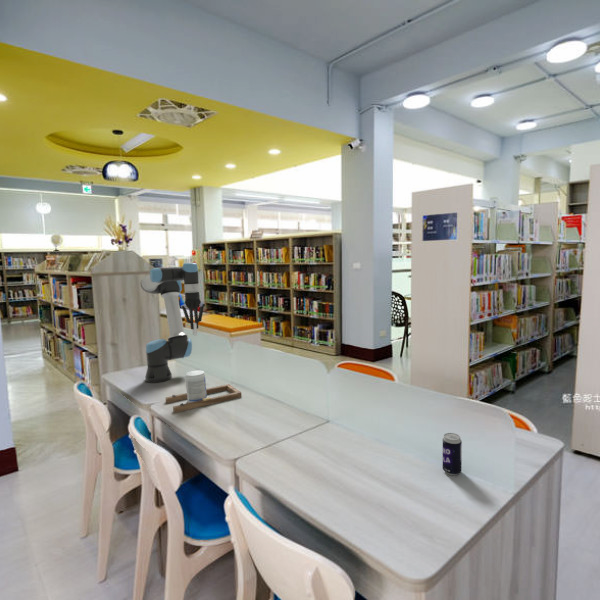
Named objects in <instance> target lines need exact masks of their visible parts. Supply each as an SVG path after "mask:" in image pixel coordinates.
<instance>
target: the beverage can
mask: <svg viewBox="0 0 600 600" xmlns="http://www.w3.org/2000/svg"><path fill="white" fill-rule="evenodd" d="M462 443H463V442H462V439H461V436H460V435H459V434H457V433H455V432H447V433H444V434H443V437H442V470H443V471H444V472H445V473H446V474H447V475H450V476H458V475H459V474H460V473H461V472H462V461H463V460H462V455H463V454H462V453H463V451H462V447H463V444H462Z"/></svg>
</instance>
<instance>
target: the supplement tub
mask: <svg viewBox="0 0 600 600" xmlns="http://www.w3.org/2000/svg"><path fill="white" fill-rule="evenodd" d="M185 386H186V387H185V388H186V393H187V399H186V400H187V403H191V402H195V401H200V400H202V399H203V398H207V397H208V396H207V395H208V394H207V393H206V389H207V383H206V373H205V371H204V370H198V369H196V370H192V371H188V372H186V373H185Z"/></svg>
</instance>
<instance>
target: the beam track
mask: <svg viewBox="0 0 600 600" xmlns="http://www.w3.org/2000/svg"><path fill="white" fill-rule="evenodd" d="M224 391H228V392H230V393H227V394H222V395H218V396H212V397H210V396H209V397H208V396H207V398H203V399H202V400H200V401H195V402H191V403H189V402H186V403H180V404H179V405H173V406H172V409H173V410H172V411H173V413H180V412H183V411H188V410H193V409H195V408H201V407H205V406H209V405H213V404H217V403H222V402H225V401H231V400H234V399H239V398H241V397H242V396H243V395H242V392H241V391H240V390H238V389H237V388H236V387H234V386H233V385H231V384H230V383H227V384H222V385H219V386H218V385H217V386H212V387H208V388H206V393H207V395H210V394H211V395H212V394H214V393H218V392H224ZM184 400H187V392H185V393H181V394H177V395H176V394H172V395H171V396H167V397H165V403H166V404H170V403H173V402H179V401H184Z"/></svg>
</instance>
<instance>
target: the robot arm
mask: <svg viewBox="0 0 600 600" xmlns="http://www.w3.org/2000/svg"><path fill="white" fill-rule="evenodd" d="M182 281H183V282H184V284H182ZM182 285H184V292H185V293H184V299H185V301H184V304H182V305H180V300H179V296H180V295H181V292H182V290H183V286H182ZM140 287H141V289H142V290H143V291H144V292H146V293H148V294H153V295H157V294H160V297H161V298H162V299H163V300H164V306H165V307H164V308H165V313H166V318H167V324H168V325H167V326H168V330H169V336H168V338H167V340H166V339H165V338H162V339H155V340H151V341H150V342H148V343H147V344H146V345H145V353H146V363H147V364H146V365H147V368H146V374H145V380H144V381H145V382H147V383H160V382H161V383H162V382H166V381H169V380H171V379H172V378H173V374H172V371H171V369H170V367H169V361H171V360H177V359H184V358H188V357H190V356H191V354H192V350H193V341H192V338H190V337H188V334H186V333H185V331H184V324H183V318H182V313H183V314H184V318H185V320H186V323H188V324H190V329H191V330H192V335H193V336H198V329H199V323H200V322H202V320H203V313H204V308H205V306H206V303H203V302H201V299H200V298H201V297H200V296H201V295H200V286H199V268H198V264H197V262H185V263H183V264H182V266H174V267H173V266H172V267H155V268H151V269H150V270H149V275H148V274H147V275H145V276H144V277H143V278H142V279H141V280H140ZM187 308H188V310H187ZM181 310H182V311H183V312H181ZM188 311H189V314H188Z"/></svg>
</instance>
